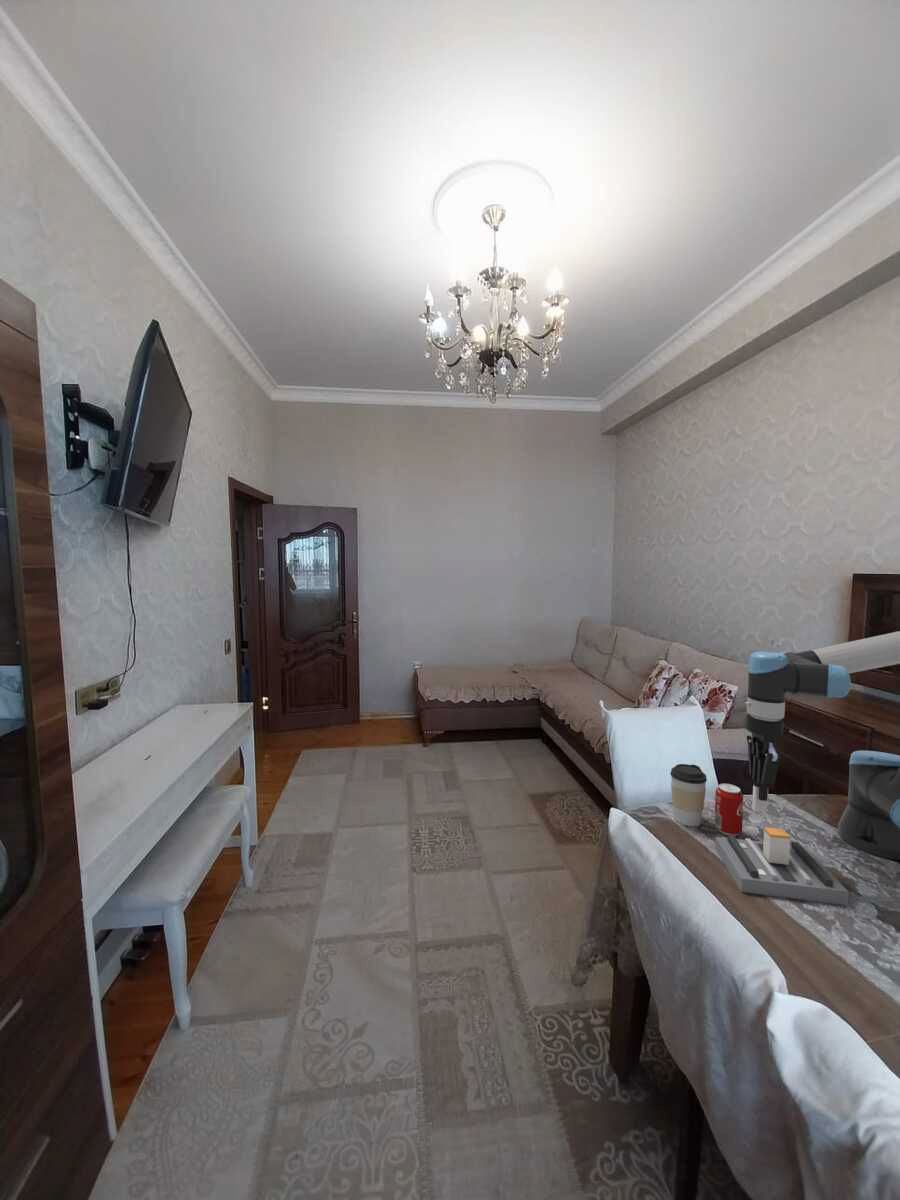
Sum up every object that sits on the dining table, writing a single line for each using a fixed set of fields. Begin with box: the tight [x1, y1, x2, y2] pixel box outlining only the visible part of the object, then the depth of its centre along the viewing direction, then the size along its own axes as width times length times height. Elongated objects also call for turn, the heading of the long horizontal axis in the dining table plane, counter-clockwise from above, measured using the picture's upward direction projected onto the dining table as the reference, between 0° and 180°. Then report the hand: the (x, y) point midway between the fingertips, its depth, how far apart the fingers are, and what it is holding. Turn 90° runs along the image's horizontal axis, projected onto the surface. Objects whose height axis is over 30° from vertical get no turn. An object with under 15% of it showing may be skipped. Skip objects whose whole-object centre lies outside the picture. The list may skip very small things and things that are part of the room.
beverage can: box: [714, 783, 744, 837], centre depth 123 cm, size 6×6×12 cm
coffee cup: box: [670, 763, 708, 827], centre depth 129 cm, size 9×9×15 cm
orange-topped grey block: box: [763, 827, 791, 865], centre depth 105 cm, size 4×3×7 cm
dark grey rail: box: [726, 835, 759, 878], centre depth 107 cm, size 2×14×4 cm, turn 168°
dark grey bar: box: [790, 840, 833, 887], centre depth 104 cm, size 2×14×4 cm, turn 168°
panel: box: [714, 836, 849, 906], centre depth 106 cm, size 20×16×4 cm
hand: (759, 810), depth 113 cm, fingers closed
